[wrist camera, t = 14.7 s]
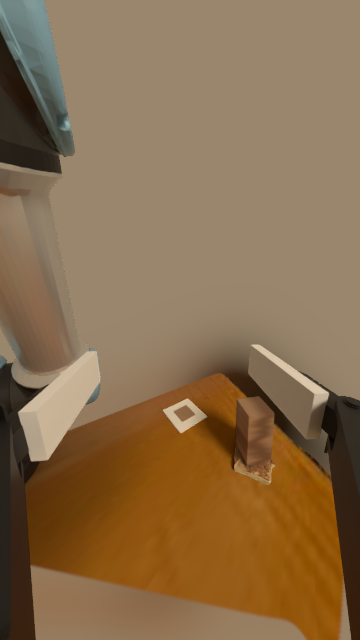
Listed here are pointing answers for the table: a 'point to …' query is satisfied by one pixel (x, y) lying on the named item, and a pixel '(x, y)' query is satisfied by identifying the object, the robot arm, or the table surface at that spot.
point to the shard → (253, 468)
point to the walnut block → (254, 430)
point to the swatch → (184, 415)
